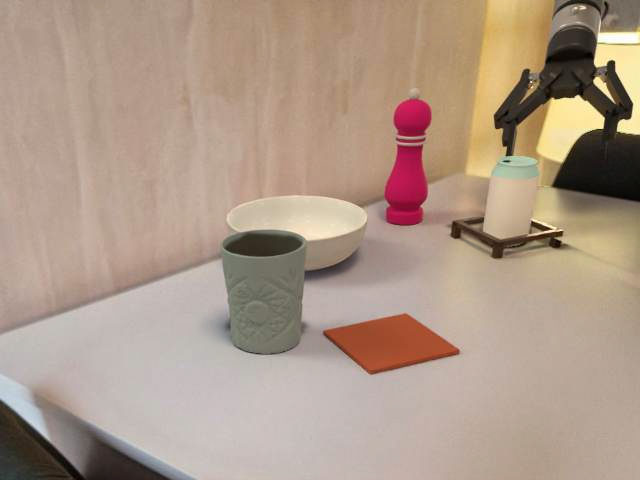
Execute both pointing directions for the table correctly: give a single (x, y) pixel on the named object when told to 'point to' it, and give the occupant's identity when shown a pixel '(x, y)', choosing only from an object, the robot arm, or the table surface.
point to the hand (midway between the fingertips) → (554, 159)
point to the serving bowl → (306, 224)
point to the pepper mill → (408, 162)
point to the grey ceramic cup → (265, 288)
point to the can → (511, 197)
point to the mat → (390, 343)
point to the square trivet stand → (500, 243)
